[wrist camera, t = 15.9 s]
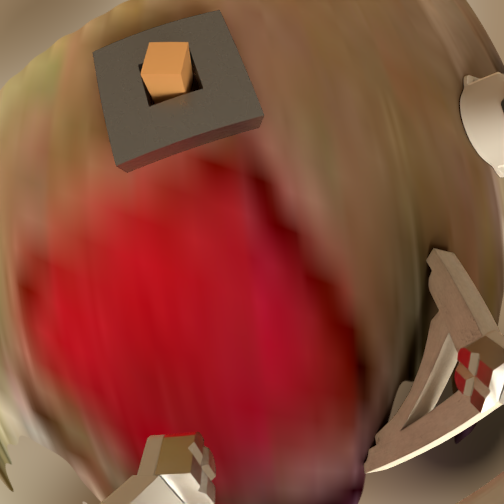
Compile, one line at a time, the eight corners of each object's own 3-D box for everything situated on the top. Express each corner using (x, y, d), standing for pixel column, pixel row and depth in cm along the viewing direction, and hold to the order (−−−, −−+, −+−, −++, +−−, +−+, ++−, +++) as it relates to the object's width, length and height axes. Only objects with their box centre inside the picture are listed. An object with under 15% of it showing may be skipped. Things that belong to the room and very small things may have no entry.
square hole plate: (219, 27, 31) (219, 10, 27) (259, 127, 33) (264, 115, 29) (102, 66, 30) (92, 52, 26) (127, 172, 32) (116, 165, 28)
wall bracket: (347, 367, 54) (433, 248, 35) (366, 367, 54) (453, 252, 36) (364, 473, 37) (506, 392, 18) (385, 469, 37) (524, 386, 19)
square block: (193, 77, 32) (188, 42, 24) (188, 105, 32) (180, 74, 24) (161, 76, 31) (149, 42, 23) (155, 104, 31) (140, 74, 24)
